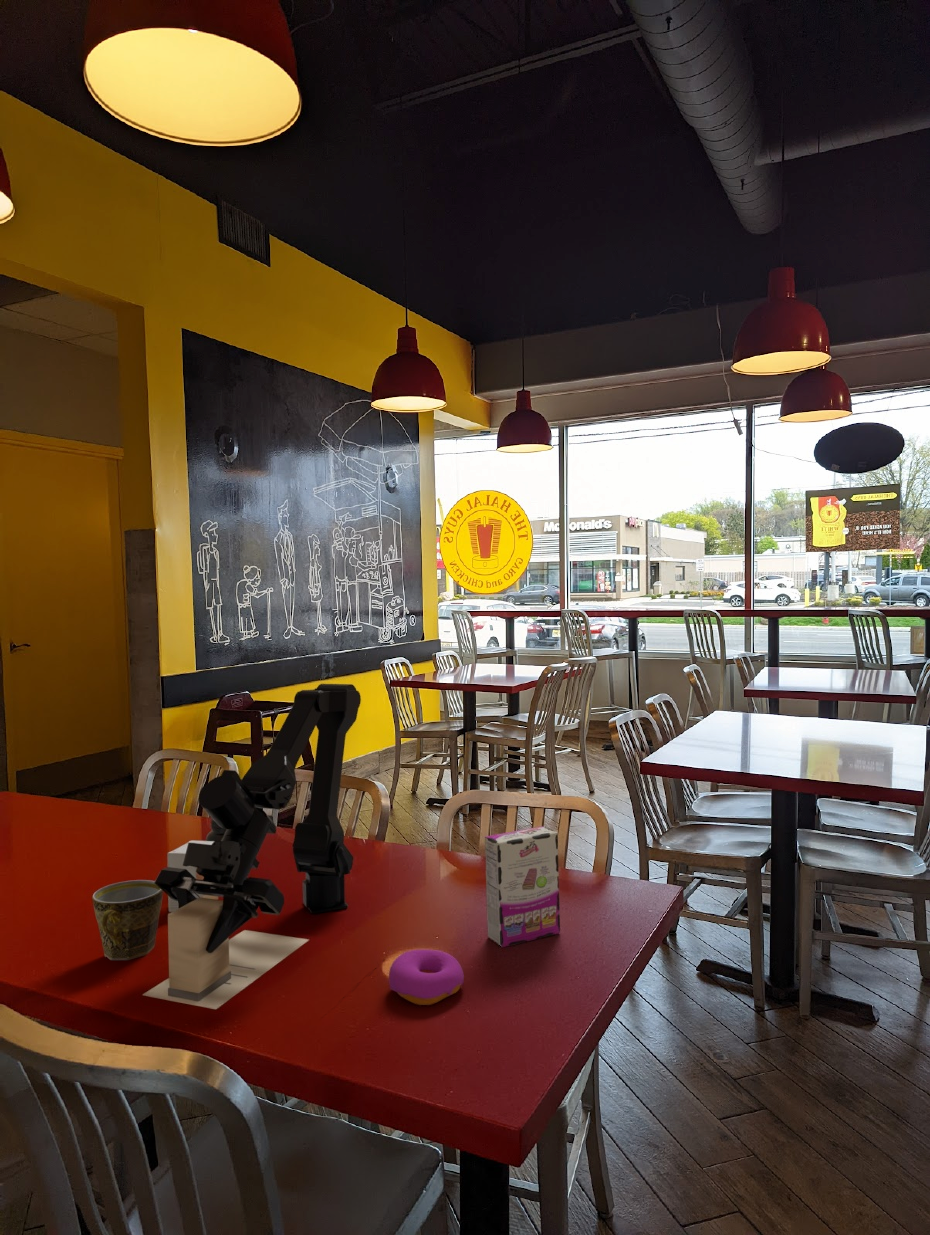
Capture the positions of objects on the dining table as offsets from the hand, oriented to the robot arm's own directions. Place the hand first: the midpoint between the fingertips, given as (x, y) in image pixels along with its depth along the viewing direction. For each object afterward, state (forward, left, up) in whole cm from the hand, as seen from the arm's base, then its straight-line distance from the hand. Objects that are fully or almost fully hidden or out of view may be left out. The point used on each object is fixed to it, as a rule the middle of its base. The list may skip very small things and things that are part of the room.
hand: (192, 949), depth 110 cm
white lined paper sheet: (-6, -6, -7) cm, 11 cm away
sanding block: (-1, -1, -6) cm, 6 cm away
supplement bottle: (-11, -48, -7) cm, 50 cm away
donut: (-29, +12, -7) cm, 32 cm away
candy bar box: (-50, +2, -7) cm, 50 cm away
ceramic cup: (+8, -17, -7) cm, 20 cm away
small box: (-4, -36, -7) cm, 37 cm away
